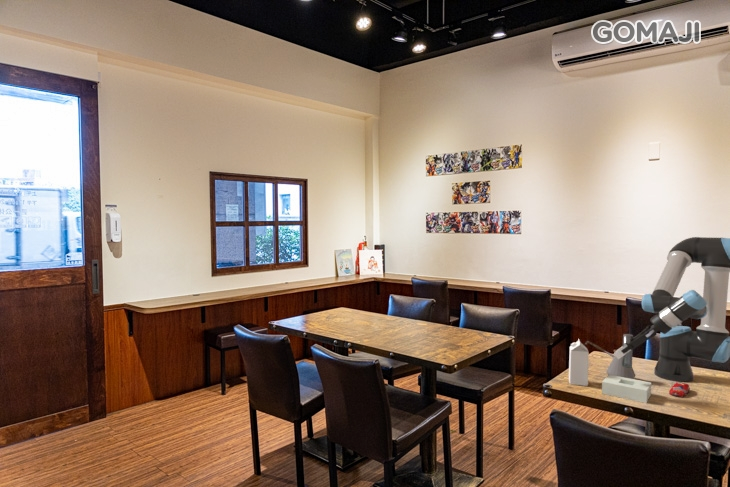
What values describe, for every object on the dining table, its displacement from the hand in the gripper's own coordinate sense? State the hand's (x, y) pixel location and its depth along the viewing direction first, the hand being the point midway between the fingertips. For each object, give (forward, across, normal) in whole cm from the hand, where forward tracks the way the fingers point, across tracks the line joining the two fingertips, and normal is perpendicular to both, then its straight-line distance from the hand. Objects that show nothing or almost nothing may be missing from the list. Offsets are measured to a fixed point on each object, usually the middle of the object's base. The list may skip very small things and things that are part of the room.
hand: (616, 355), depth 197 cm
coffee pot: (+15, +21, -8) cm, 27 cm away
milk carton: (+22, +4, -1) cm, 22 cm away
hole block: (+8, +1, -14) cm, 16 cm away
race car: (-4, +15, -27) cm, 31 cm away
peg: (0, 0, -6) cm, 6 cm away
